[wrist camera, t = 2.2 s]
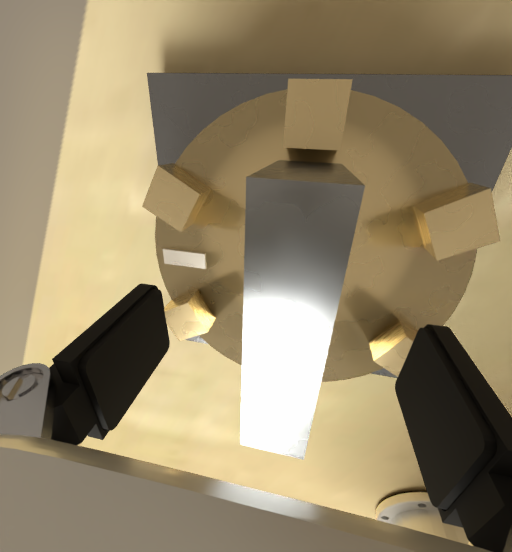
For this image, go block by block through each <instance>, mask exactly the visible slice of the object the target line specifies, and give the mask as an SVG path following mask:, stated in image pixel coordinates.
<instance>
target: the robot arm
mask: <svg viewBox="0 0 512 552" xmlns="http://www.w3.org/2000/svg"><path fill="white" fill-rule="evenodd" d="M168 348H169V336H168V330H167V323H166V317H165V311H164V305H163V299H162V293H161V291H160V290H158V288H157V286H155V285H148V284H139V285H138V286H137V287H135V288H134V289H133V290H132V291H131V292H130V293H129V294H127V295H126V296H125V297H124V298H123V299H122V300H120V301H119V302H118V303H117V304H116V305H115V306H113V307H112V308H111V309H110V310H109V311H108V312H106V313H105V314H104V315H103V316H102V317H101V318H99V319H98V320H97V321H96V322H95V323H94V324H93V325H91V326H90V327H89V328H88V329H87V330H86V331H84V332H83V333H82V334H81V335H80V336H79V337H77V338H76V339H75V340H74V341H73V342H72V343H70V344H69V345H68V346H67V347H66V348H65V349H63V350H62V351H61V352H60V353H59V354H58V355H56V356H55V357H54V358H53V359H52V360H53V362H54V364H53V365H52V366H51V367H50V368H48V367H47V366H46V365H43V364H40V363H32V364H27V365H22V366H20V367H17V368H14V369H12V370H10V371H8V372H6V373H4V374H3V375H1V376H0V552H512V417H511V416H510V414H509V413H508V411H507V410H506V408H505V407H504V406H503V404H502V403H501V401H500V400H499V398H498V397H497V395H496V394H495V393H494V391H493V390H492V388H491V387H490V385H489V384H488V383H487V381H486V380H485V378H484V377H483V375H482V374H481V372H480V371H479V370H478V368H477V367H476V365H475V364H474V362H473V361H472V360H471V358H470V357H469V355H468V354H467V352H466V351H465V349H464V348H463V347H462V345H461V344H460V342H459V341H458V339H457V338H456V337H455V335H454V334H453V332H452V331H451V329H450V328H449V327H446V326H439V325H432V324H427V325H426V326H425V327H424V328H420V329H419V330H418V332H417V334H416V336H415V339H414V341H413V343H412V346H411V348H410V350H409V353H408V355H407V357H406V360H405V362H404V364H403V367H402V369H401V371H400V374H399V376H398V378H397V380H396V384H395V390H396V394H397V398H398V401H399V404H400V407H401V410H402V413H403V417H404V420H405V423H406V426H407V429H408V433H409V436H410V439H411V442H412V445H413V448H414V452H415V455H416V458H417V461H418V464H419V467H420V471H421V474H422V477H423V480H424V483H425V487H426V490H427V492H408V493H402V494H397V495H394V496H391V497H389V498H387V499H385V500H384V501H382V502H381V503H380V504H379V505H378V507H377V508H376V513H375V514H376V520H375V519H371V518H367V517H363V516H359V515H355V514H351V513H347V512H343V511H340V510H336V509H332V508H328V507H324V506H320V505H316V504H312V503H308V502H304V501H301V500H297V499H293V498H289V497H285V496H281V495H277V494H273V493H269V492H265V491H261V490H257V489H253V488H249V487H245V486H241V485H237V484H233V483H229V482H225V481H221V480H217V479H213V478H209V477H205V476H201V475H197V474H193V473H189V472H185V471H181V470H177V469H173V468H169V467H165V466H161V465H157V464H153V463H149V462H144V461H140V460H136V459H132V458H128V457H124V456H120V455H116V454H112V453H108V452H104V451H99V450H95V449H91V448H86V447H82V442H83V440H84V439H85V438H86V436H87V435H88V436H89V437H93V438H97V439H101V440H103V439H104V438H105V436H106V435H107V433H108V432H109V430H113V429H114V428H115V427H116V426H117V425H118V423H119V422H120V420H121V419H122V417H123V416H124V414H125V413H126V411H127V410H128V408H129V407H130V405H131V404H132V403H133V401H134V400H135V398H136V397H137V395H138V394H139V392H140V391H141V389H142V388H143V386H144V385H145V383H146V382H147V380H148V379H149V377H150V376H151V374H152V373H153V371H154V370H155V369H156V367H157V366H158V364H159V363H160V361H161V360H162V358H163V357H164V355H165V354H166V352H167V351H168Z"/></svg>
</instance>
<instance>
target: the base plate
mask: <svg viewBox="0 0 512 552" xmlns="http://www.w3.org/2000/svg"><path fill="white" fill-rule="evenodd" d="M147 77H148V86H149V94H150V102H151V110H152V118H153V127H154V135H155V143H156V151H157V159H158V165H164V164H170V163H174V164H175V163H176V162H177V160H178V159H179V157H180V156H181V154H182V153H183V151H184V150H185V149H186V147H187V146H188V145H189V144H190V143H191V142H192V141H193V140H194V138H195V137H196V136H197V135H198V134H199V133H200V132H201V131H202V130H203V129H204V128H206V127H207V126H208V125H209V124H211V123H212V122H213V121H215V120H216V119H217V118H218V117H220V116H221V115H223V114H224V113H226V112H228V111H230V110H231V109H233V108H235V107H237V106H238V105H240V104H242V103H244V102H247V101H249V100H252V99H255V98H257V97H260V96H262V95H265V94H268V93H273V92H277V91H282V90H286V89H288V79H353V80H352V86H351V90H353V91H357V92H360V93H364V94H368V95H372V96H375V97H377V98H380V99H382V100H384V101H386V102H389V103H391V104H393V105H396V106H398V107H400V108H401V109H403V110H404V111H406V112H407V113H409V114H410V115H412V116H413V117H415V118H417V119H418V120H420V121H421V122H423V123H424V124H425V125H426V126H427V127H428V128H429V129H430V130H431V131H432V132H433V133H434V134H435V135H436V136H437V137H438V138H439V139H441V140H442V142H443V143H444V144H445V146H446V147H447V148H448V150H449V151H450V152H451V154H452V155H453V156H454V158H455V159H456V160H457V162H458V164H459V166H460V168H461V170H462V172H463V174H464V176H465V178H466V180H467V182H468V183H474V184H477V185H481V186H485V187H488V188H491V192H492V190H493V188H494V186H495V184H496V181H497V179H498V177H499V175H500V172H501V170H502V168H503V166H504V163H505V161H506V159H507V157H508V154H509V152H510V150H511V148H512V75H387V74H238V73H147ZM185 340H189V341H195V342H200V343H206V344H208V343H207V342H206V341H204V340H203V339H202V338H201V337H200V336H199V335H198V336H194V337H191V338H188V339H185ZM372 374H377V375H383V376H389V377H394V378H398V377H397V376H395V375H394V374H392V373H391V372H389V371H388V370H386V369H385V368H383V369H381V370H378V371H375V372H372Z"/></svg>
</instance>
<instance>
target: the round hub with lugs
mask: <svg viewBox="0 0 512 552" xmlns="http://www.w3.org/2000/svg"><path fill="white" fill-rule="evenodd" d="M352 80H353V79H288V89H286V90H282V91H277V92H273V93H268V94H265V95H262V96H260V97H257V98H255V99H252V100H249V101H247V102H244V103H242V104H240V105H238V106H237V107H235V108H233V109H231V110H230V111H228V112H226V113H224V114H223V115H221V116H220V117H218V118H217V119H216V120H215V121H213V122H212V123H211V124H209V125H208V126H207V127H206V128H204V129H203V130H202V131H201V132H200V133H199V134H198V135H197V136H196V137H195V138H194V140H193V141H192V142H191V143H190V144H189V145H188V146H187V147H186V149H185V150H184V151H183V153H182V154H181V156H180V157H179V159H178V160H177V162H176V163H175V164H174V163H170V164H164V165H158V167H157V169H156V172H155V174H154V177H153V180H152V182H151V185H150V187H149V190H148V193H147V195H146V198H145V201H144V203H143V206H142V207H144V208H145V209H147V210H148V211H150V212H151V213H153V214H154V215H156V216H157V217H156V231H155V241H156V253H157V258H158V263H159V268H160V272H161V275H162V278H163V281H164V284H165V287H166V289H167V291H168V293H169V295H170V297H171V299H172V300H171V301H170V302H169V303H168V304H167V306H166V307H165V308H164V311H165V317H166V323H167V325H168V326H169V328H170V329H171V330H172V332H173V333H174V334H175V336H176V337H177V339H178V340H179V341H182V340H185V339H188V338H191V337H194V336H198V335H199V336H200V337H201V338H202V339H203V340H204V341H206V342H207V343H208V344H209V345H210V346H211V347H213V348H214V349H215V350H217V351H218V352H220V353H221V354H223V355H224V356H226V357H227V358H229V359H231V360H233V361H235V362H236V363H238V364H240V365H242V384H241V429H240V445H245V446H249V447H253V448H257V449H261V450H265V451H270V452H274V453H278V454H282V455H286V456H290V457H295V458H299V459H303V460H304V456H305V452H306V447H307V443H308V438H309V434H310V430H311V425H312V421H313V416H314V412H315V407H316V403H317V398H318V394H319V389H320V385H321V382H327V381H337V380H345V379H350V378H355V377H359V376H363V375H366V374H369V373H372V372H375V371H378V370H381V369H383V368H385V369H386V370H388V371H389V372H391V373H392V374H394V375H395V376H397V377H398V376H399V374H400V371H401V369H402V367H403V364H404V362H405V360H406V357H407V355H408V353H409V350H410V348H411V346H412V343H413V341H414V339H415V336H416V334H417V332H418V330H419V329H420V328H424V327H425V326H426V325H427V324H432V325H439V326H443V325H444V324H445V322H446V321H447V320H448V318H449V317H450V316H451V314H452V313H453V312H454V310H455V309H456V307H457V305H458V303H459V302H460V300H461V298H462V296H463V295H464V293H465V290H466V288H467V285H468V282H469V280H470V277H471V275H472V271H473V267H474V262H475V258H476V253H477V248H479V247H482V246H485V245H489V244H492V243H495V242H498V241H500V238H499V232H498V226H497V221H496V215H495V209H494V204H493V198H492V192H491V188H488V187H485V186H481V185H477V184H474V183H468V182H467V180H466V178H465V176H464V174H463V172H462V170H461V168H460V166H459V164H458V162H457V160H456V159H455V158H454V156H453V155H452V154H451V152H450V151H449V150H448V148H447V147H446V146H445V144H444V143H443V142H442V140H441V139H439V138H438V137H437V136H436V135H435V134H434V133H433V132H432V131H431V130H430V129H429V128H428V127H427V126H426V125H425V124H424V123H423V122H421V121H420V120H418V119H417V118H415V117H413V116H412V115H410V114H409V113H407V112H406V111H404V110H403V109H401V108H400V107H398V106H396V105H393V104H391V103H389V102H386V101H384V100H382V99H380V98H377V97H375V96H372V95H368V94H364V93H360V92H357V91H353V90H351V86H352Z"/></svg>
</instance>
